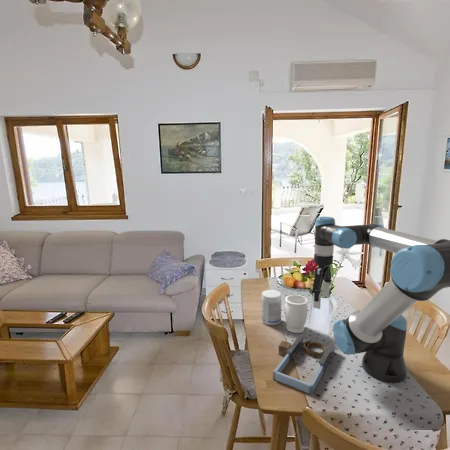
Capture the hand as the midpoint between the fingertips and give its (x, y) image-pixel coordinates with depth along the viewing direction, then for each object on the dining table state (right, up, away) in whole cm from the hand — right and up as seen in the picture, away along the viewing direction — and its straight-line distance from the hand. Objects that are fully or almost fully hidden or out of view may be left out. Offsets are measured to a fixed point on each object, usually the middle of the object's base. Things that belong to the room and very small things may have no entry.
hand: (321, 301), depth 136 cm
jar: (-8, -16, +14) cm, 23 cm away
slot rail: (-6, -20, -7) cm, 22 cm away
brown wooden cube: (-17, -20, -4) cm, 26 cm away
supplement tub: (-18, -15, +21) cm, 32 cm away
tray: (-14, -23, -19) cm, 33 cm away
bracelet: (-4, -20, -3) cm, 21 cm away
